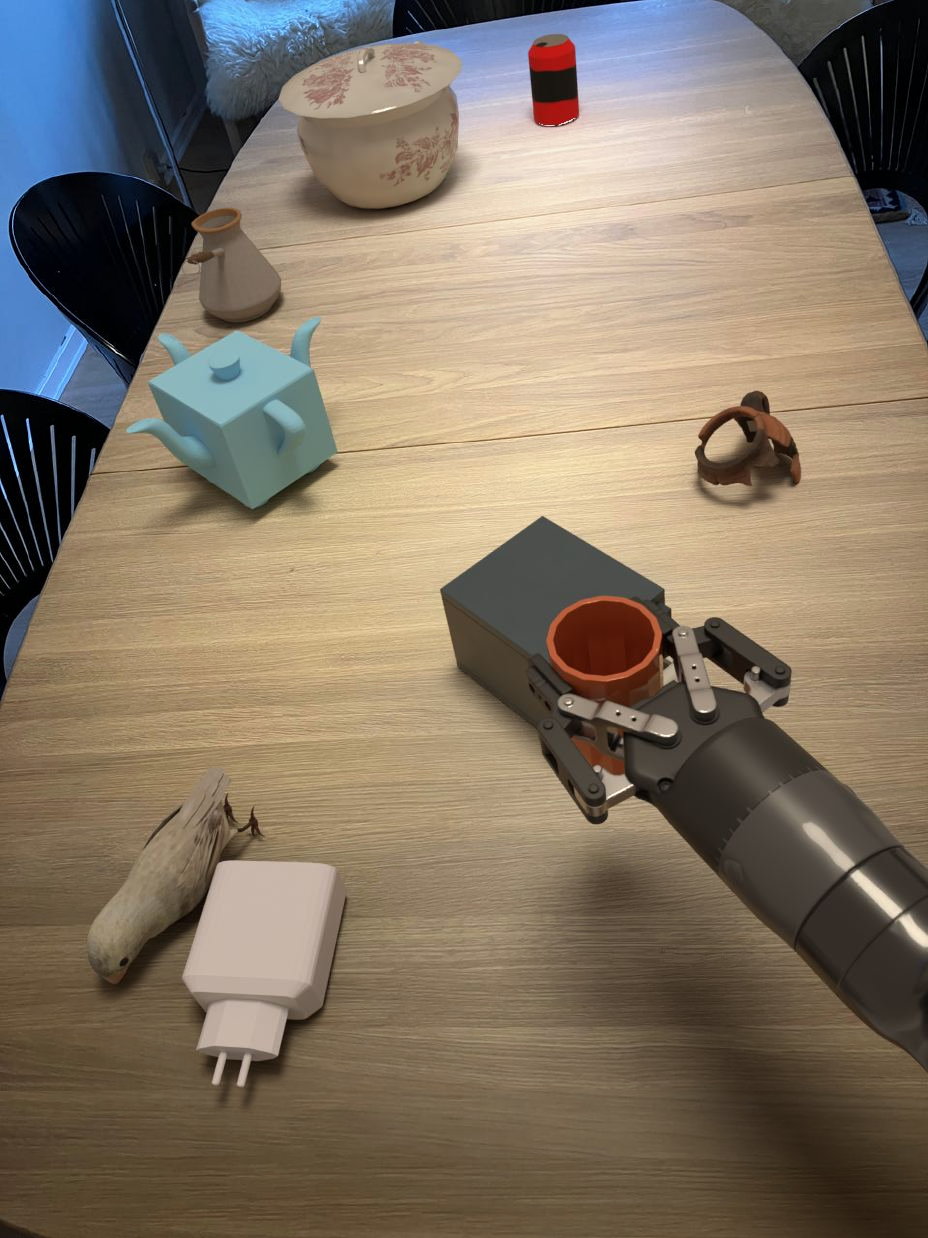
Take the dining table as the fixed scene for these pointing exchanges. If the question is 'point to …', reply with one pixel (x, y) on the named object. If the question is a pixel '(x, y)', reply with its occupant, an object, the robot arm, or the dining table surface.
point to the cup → (607, 657)
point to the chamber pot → (378, 121)
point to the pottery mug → (758, 432)
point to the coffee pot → (232, 269)
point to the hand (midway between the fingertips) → (582, 636)
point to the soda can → (553, 79)
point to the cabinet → (528, 605)
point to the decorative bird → (165, 876)
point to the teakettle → (242, 413)
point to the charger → (262, 955)
